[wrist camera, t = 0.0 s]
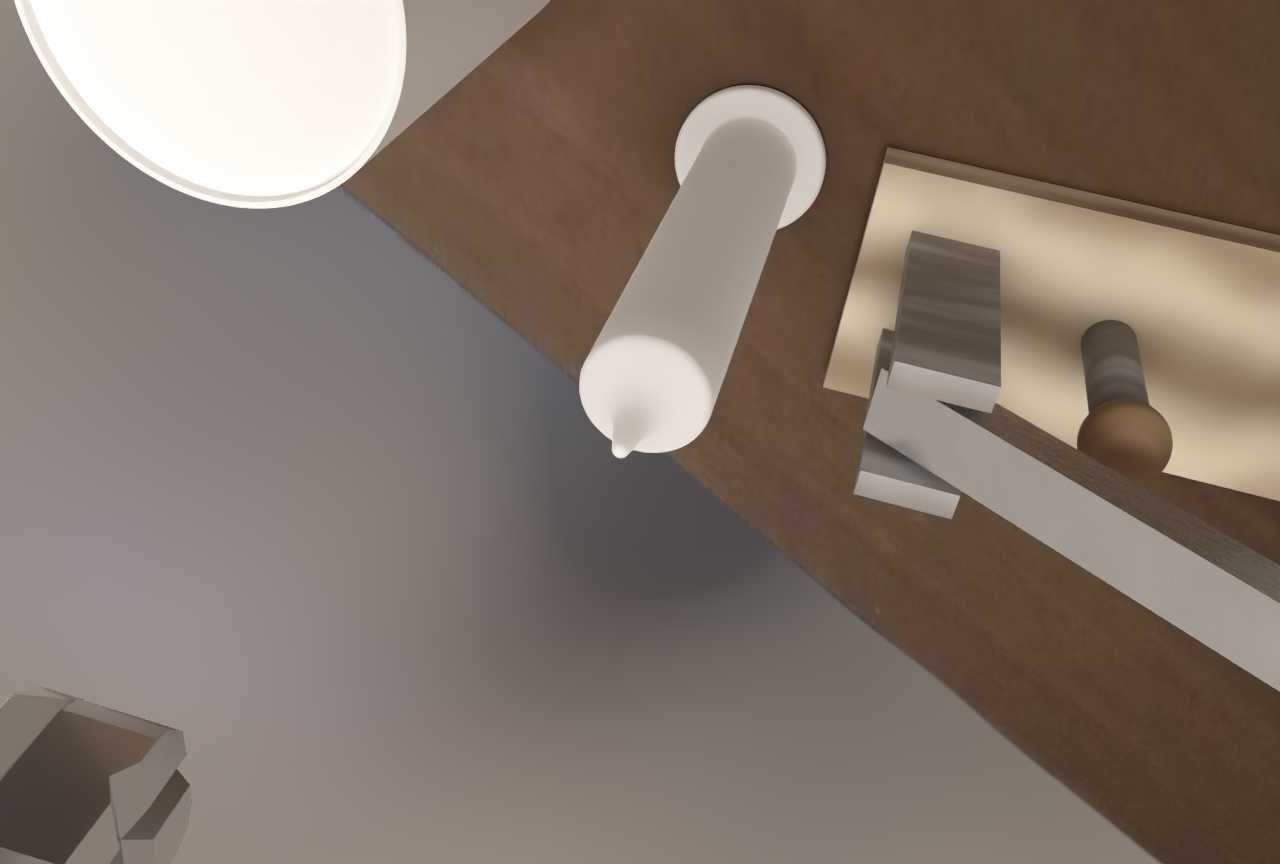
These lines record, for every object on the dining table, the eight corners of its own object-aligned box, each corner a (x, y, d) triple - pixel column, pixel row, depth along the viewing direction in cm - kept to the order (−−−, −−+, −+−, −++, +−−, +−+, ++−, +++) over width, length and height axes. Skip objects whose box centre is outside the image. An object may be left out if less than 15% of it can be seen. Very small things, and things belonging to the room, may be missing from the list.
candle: (823, 232, 59) (733, 557, 39) (678, 223, 60) (519, 532, 40) (830, 86, 55) (733, 362, 35) (675, 81, 56) (497, 342, 36)
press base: (887, 146, 56) (860, 283, 44) (1530, 291, 53) (1677, 478, 41) (827, 367, 63) (790, 533, 51) (1392, 506, 60) (1485, 717, 48)
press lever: (920, 322, 49) (885, 339, 48) (1658, 731, 35) (1642, 773, 34) (882, 442, 52) (848, 461, 51) (1541, 857, 39) (1521, 900, 37)
